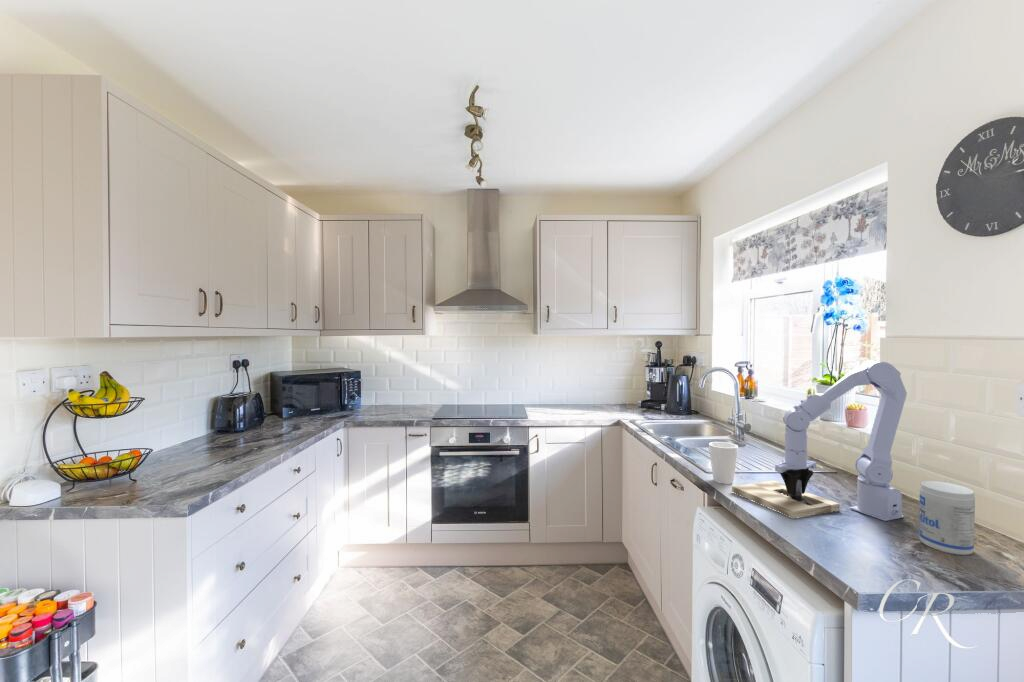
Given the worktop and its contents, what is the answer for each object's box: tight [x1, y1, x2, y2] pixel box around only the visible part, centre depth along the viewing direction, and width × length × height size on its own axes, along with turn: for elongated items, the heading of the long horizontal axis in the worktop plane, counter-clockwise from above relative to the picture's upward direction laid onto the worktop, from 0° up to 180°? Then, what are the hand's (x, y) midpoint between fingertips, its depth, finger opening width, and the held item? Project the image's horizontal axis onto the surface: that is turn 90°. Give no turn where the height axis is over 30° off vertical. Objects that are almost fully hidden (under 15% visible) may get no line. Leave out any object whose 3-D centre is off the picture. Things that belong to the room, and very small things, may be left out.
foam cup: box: [708, 441, 739, 485], centre depth 155 cm, size 10×9×13 cm
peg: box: [789, 478, 807, 505], centre depth 135 cm, size 5×5×8 cm
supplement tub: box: [918, 480, 976, 556], centre depth 106 cm, size 10×10×15 cm
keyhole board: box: [731, 480, 840, 519], centre depth 136 cm, size 22×18×2 cm
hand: (795, 493), depth 134 cm, fingers closed on peg, 3 cm apart
